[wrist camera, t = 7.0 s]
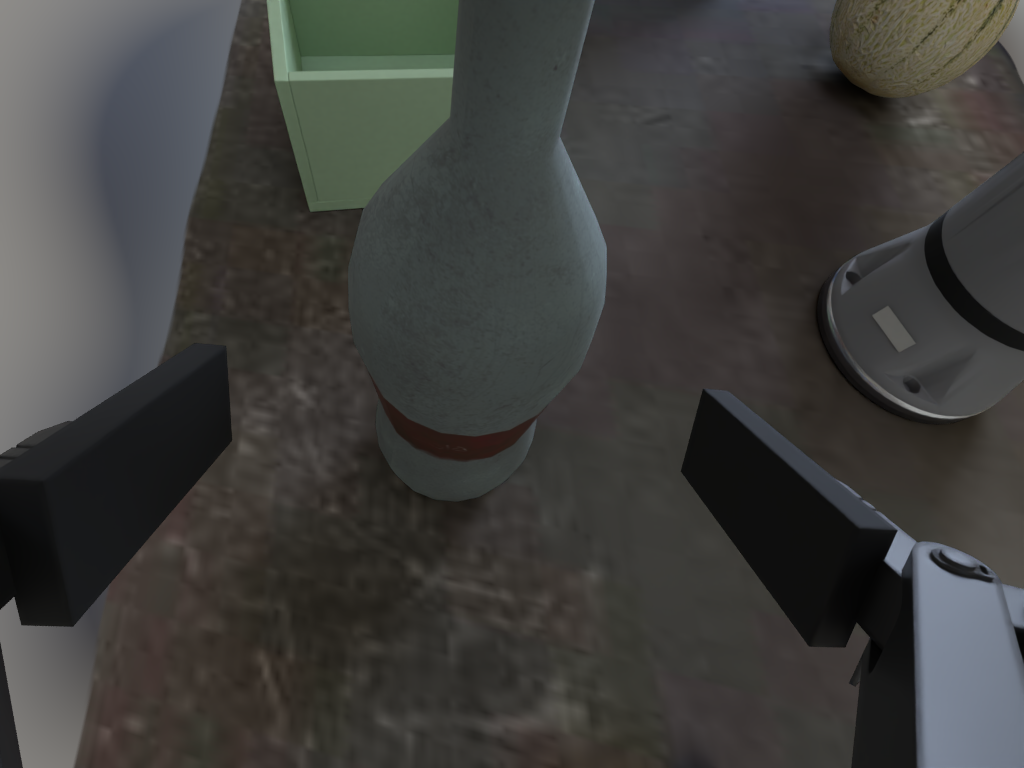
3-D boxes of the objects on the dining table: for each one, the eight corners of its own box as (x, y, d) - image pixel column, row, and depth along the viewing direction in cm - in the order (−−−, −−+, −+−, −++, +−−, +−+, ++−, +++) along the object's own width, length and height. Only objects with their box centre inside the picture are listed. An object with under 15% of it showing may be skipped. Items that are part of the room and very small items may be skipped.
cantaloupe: (785, 88, 56) (901, -83, 42) (815, 17, 62) (925, -152, 49) (917, 151, 55) (1079, -3, 42) (935, 73, 61) (1080, -83, 48)
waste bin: (479, 58, 51) (493, -79, 41) (519, 196, 45) (547, 74, 35) (292, 61, 47) (257, -89, 37) (309, 212, 41) (274, 80, 31)
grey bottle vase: (492, 360, 38) (662, -276, 11) (545, 479, 35) (945, 8, 8) (361, 401, 36) (170, -301, 9) (407, 534, 33) (331, 103, 6)
